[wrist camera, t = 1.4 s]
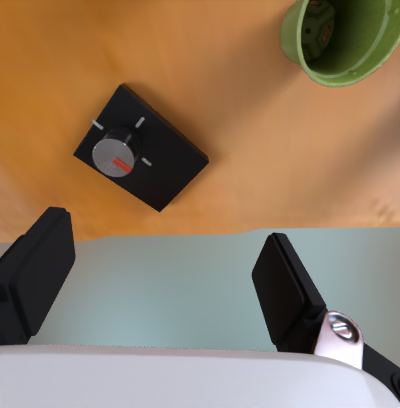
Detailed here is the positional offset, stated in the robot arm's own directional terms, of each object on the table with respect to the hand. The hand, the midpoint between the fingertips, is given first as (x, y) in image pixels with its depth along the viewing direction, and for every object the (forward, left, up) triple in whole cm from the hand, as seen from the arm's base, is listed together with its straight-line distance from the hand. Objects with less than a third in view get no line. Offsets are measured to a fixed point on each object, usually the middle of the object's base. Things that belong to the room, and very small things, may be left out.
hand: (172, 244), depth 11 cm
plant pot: (+4, +17, -23) cm, 29 cm away
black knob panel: (-1, -6, -23) cm, 24 cm away
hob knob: (-4, -6, -21) cm, 22 cm away
